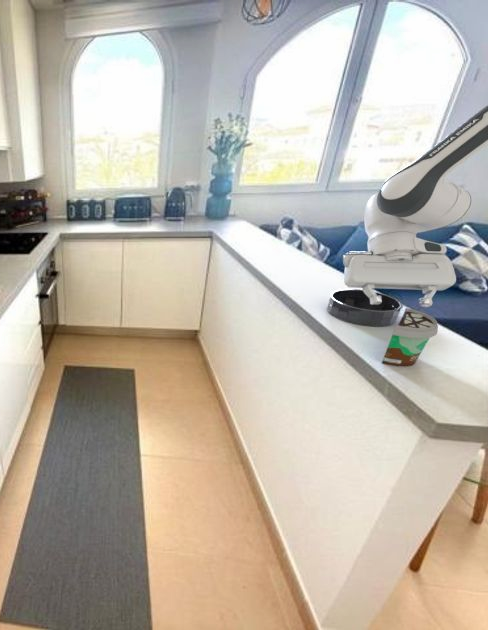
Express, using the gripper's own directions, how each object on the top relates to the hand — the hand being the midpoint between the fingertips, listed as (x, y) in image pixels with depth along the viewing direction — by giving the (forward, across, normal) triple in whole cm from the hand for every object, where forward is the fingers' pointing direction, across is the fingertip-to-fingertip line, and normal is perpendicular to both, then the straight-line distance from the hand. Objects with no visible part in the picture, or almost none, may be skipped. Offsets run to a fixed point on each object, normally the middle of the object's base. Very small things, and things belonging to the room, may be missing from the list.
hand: (400, 304), depth 79 cm
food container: (+13, 0, +2) cm, 13 cm away
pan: (-4, +1, +19) cm, 19 cm away
